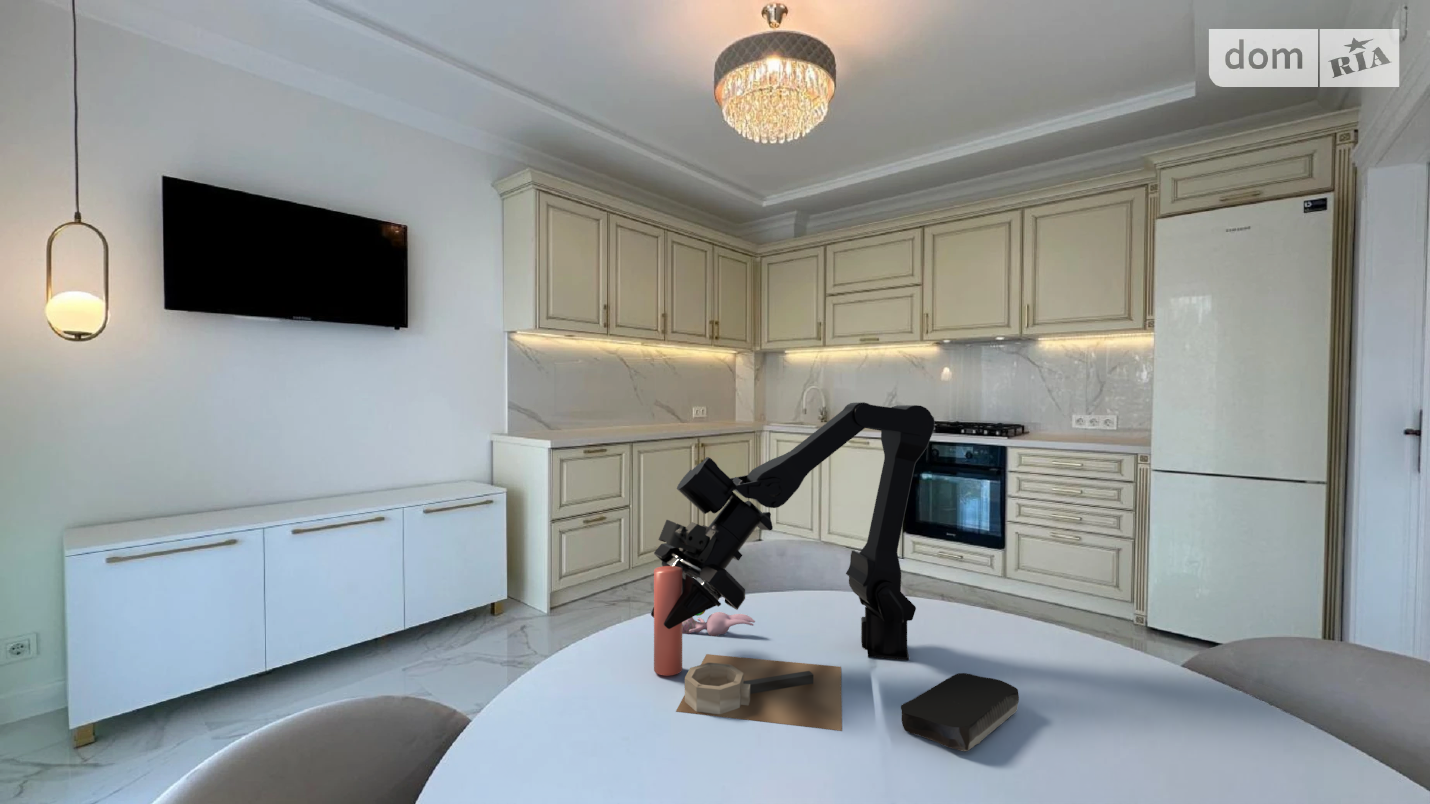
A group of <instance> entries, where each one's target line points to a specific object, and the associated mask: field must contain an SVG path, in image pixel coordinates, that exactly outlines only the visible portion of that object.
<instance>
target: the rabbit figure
mask: <svg viewBox="0 0 1430 804" xmlns="http://www.w3.org/2000/svg"><path fill="white" fill-rule="evenodd" d="M705 612H706V611H703V612H701V613H699V614H697V615H695V616H693V617H691V618H689V619H688V620H686V621H684V622H682V635H689V634H692V633H694V632H695V633H701V632H702V631H703V630H706V631H707V634H708V635H709V636H710V637H719V635H725V634H726V633H728V631H729V630H730V627H733V626H736V625H743V624H744V625H747V626H755V624H754V623H756V620H755V619H753V617H751V616H749V615H748V614H744V613H735V614H728V613H726V612H723V611H717V612H713V613H711V614H710V615H709V616H708V617H707V620H706V622H705V620H704V619H703V618H701V617H698V616H702V615H703V614H705ZM694 617H698V618H697V620H695V618H694Z"/></svg>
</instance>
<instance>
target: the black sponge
mask: <svg viewBox="0 0 1430 804" xmlns="http://www.w3.org/2000/svg"><path fill="white" fill-rule="evenodd" d="M1019 695H1020V694H1019V689H1018V688H1017V687H1015V686H1014V685H1011V684H1010V683H1008V682H1006V681H1003V680H1000V679H996V678H992V677H985V676H980V675H975V674H971V673H967V672H966V673H965V672H960V673H955V674H953V675H951V676H950V677H948V678H946V679H945V680H943V681H941V682H939V683H937V684H936V685H934V686H933V687H931V688H930V689H927V690H926V691H924V692H923V693H921V694H919V695H918V696H915V697H914V698H913V699H911V700H909V701H907V702H904V703H902V704H901V705H900V711H901V723H902V724H901V725H902V728H903V729H904V731H906V732H907V733H909V734H912V735H916V736H918V737H922V738H925V739H927V740H929V741H933V742H935V743H938V744H940V745H941V746H944V747H947V748H949V749H954V750H958V751H960V752H969V751H970V750H971V749H972V748H974V747H975V746H976V745H979V744H980V743H981V742H982V741H983V740H984V739H985V738H986V737H988V735H990V734H991V733H992V732H994V731H995V730H996V729H997V728H999V726H1002V724H1004V723H1005V722H1006V721H1007V720H1008V719H1009V718H1010V717H1011V716H1012V715H1014V714H1015V713H1016V712H1017V711H1018V704H1019V701H1020V696H1019Z"/></svg>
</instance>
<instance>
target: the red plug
mask: <svg viewBox="0 0 1430 804" xmlns="http://www.w3.org/2000/svg"><path fill="white" fill-rule="evenodd" d="M681 594H682V568H680V567H676V566H662V565H661V566H658V567H655V568H654V569H653V607H654V618H653V671H654V673H655V674H656V675H661V676H675V675H677V674H679V673H681V672H682V671H683V634H682V623H680V624H678V625H676V626H674V627H673V628H671V629H668V628H666V627H665V626H664V622H665V620H666V618H667V617H668V615H669V613H670V612H671V610H672V608H673V607H674V605H675V604H676V602H677V601H678V599H679V598H680V596H681Z"/></svg>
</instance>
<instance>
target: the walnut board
mask: <svg viewBox="0 0 1430 804" xmlns="http://www.w3.org/2000/svg"><path fill="white" fill-rule="evenodd" d="M842 702H843V701H842V666H838V665H827V664H826V665H825V664H818V663H816V664H815V663H805V662H796V661H795V662H794V661H786V660H785V661H784V660H776V659H775V660H771V659H762V658H751V657H743V656H733V655H732V656H729V655H720V654H719V655H718V654H711V653H710V654H709V653H705V655H704V657H703V659H702V662H701V664H699V665H696V666H691V667H690V668H689V670H688V672H687V673H686V675H685V676H684V695H683V697H682V699H681V700H680V703H679V705H678V706H677V709H675V713H685V714H692V715H702V716H708V717H709V716H710V717H719V718H727V719H734V720H736V719H737V720H742V721H743V720H744V721H752V722H753V721H754V722H760V723H761V722H762V723H769V724H779V725H787V726H788V725H789V726H795V727H804V728H812V729H822V730H831V731H839V732H843V728H842V727H843V721H842V720H843V718H842V717H843V714H842V711H843V709H842V707H843V706H842Z"/></svg>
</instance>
